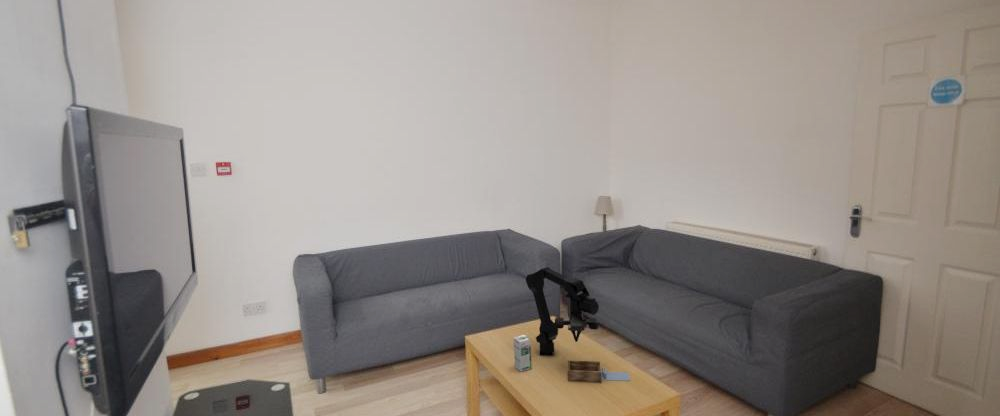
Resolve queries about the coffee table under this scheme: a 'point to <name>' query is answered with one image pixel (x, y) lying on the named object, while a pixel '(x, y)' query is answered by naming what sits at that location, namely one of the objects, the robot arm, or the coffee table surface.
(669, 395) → the coffee table surface
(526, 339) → the syrup box
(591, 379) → the pencil box
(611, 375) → the cover plate
